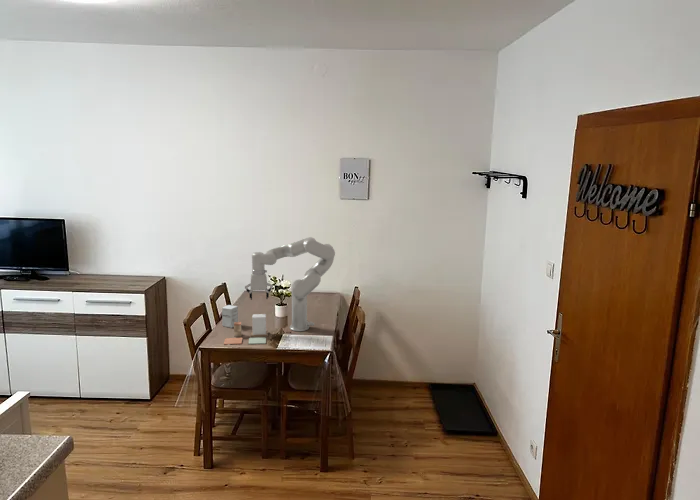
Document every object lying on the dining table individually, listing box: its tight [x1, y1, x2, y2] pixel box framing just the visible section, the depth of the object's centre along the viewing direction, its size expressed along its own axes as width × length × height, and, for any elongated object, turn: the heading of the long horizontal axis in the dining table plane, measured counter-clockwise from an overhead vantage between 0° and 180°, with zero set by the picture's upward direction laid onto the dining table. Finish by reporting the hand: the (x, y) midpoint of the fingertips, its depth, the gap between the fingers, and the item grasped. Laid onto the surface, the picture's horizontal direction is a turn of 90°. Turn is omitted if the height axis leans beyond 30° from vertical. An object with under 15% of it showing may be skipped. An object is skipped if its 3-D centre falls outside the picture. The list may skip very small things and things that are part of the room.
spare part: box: [233, 321, 242, 338], centre depth 306 cm, size 4×4×8 cm
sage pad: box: [248, 337, 267, 345], centre depth 298 cm, size 10×9×1 cm
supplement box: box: [221, 304, 239, 329], centre depth 323 cm, size 7×7×13 cm
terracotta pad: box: [223, 337, 243, 346], centre depth 297 cm, size 10×9×1 cm
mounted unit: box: [250, 313, 269, 338], centre depth 308 cm, size 10×8×12 cm
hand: (259, 298), depth 314 cm, fingers open, 9 cm apart
